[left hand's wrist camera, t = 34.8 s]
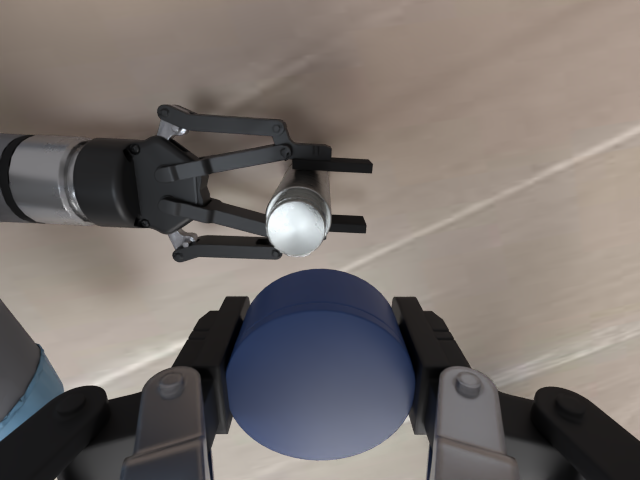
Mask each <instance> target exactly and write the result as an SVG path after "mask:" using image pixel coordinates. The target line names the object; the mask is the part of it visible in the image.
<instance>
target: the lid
mask: <svg viewBox="0 0 640 480" xmlns="http://www.w3.org/2000/svg"><path fill="white" fill-rule="evenodd" d="M226 383H227V391H228V400H229V408H230V411H231V413H232V415H233V417H234V419H235V420H236V422H237V423H238V424H239V426H240V427H241V428H242V429H243V430H244V431H245V432H246V433H247V434H248V435H249V436H250V437H252V438H253V439H254V440H255V441H257V442H258V443H260V444H261V445H263V446H265V447H267V448H269V449H271V450H273V451H275V452H278V453H280V454H283V455H287V456H290V457H294V458H300V459H306V460H334V459H341V458H346V457H350V456H354V455H357V454H360V453H363V452H365V451H367V450H370V449H372V448H373V447H375V446H377V445H379V444H381V443H382V442H383V441H385V440H386V439H388V438H389V437H390V436H391V435H392V434H393V433H394V432H395V431H397V429H398V428H399V427H400V426H401V425H402V423H403V422H404V420H405V419H406V417H407V416H408V414H409V412H410V410H411V407H412V405H413V400H414V393H415V384H416V378H415V372H414V368H413V364H412V361H411V359H410V356H409V353H408V350H407V348H406V345H405V342H404V339H403V337H402V334H401V331H400V328H399V325H398V323H397V320H396V317H395V315H394V312H393V310H392V308H391V306H390V305H389V303H388V301H387V300H386V299H385V298H384V296H383V295H382V294H381V293H380V292H379V291H378V290H377V289H376V288H375V287H373V286H372V285H370V284H369V283H368V282H366V281H364V280H362V279H360V278H359V277H357V276H354V275H351V274H349V273H346V272H342V271H337V270H330V269H310V270H302V271H299V272H295V273H291V274H289V275H286V276H284V277H281V278H280V279H278V280H276V281H274V282H272V283H271V284H270V285H268V286H267V287H266V288H264V289H263V290H262V291H261V292H260V293H259V294H258V295H257V296H256V298H255V299H254V300H253V302H252V303H251V305H250V307H249V308H248V310H247V313H246V315H245V318H244V321H243V324H242V326H241V329H240V332H239V335H238V337H237V340H236V343H235V346H234V348H233V351H232V354H231V357H230V359H229V362H228V365H227V368H226Z"/></svg>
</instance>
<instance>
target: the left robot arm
mask: <svg viewBox="0 0 640 480" xmlns="http://www.w3.org/2000/svg"><path fill="white" fill-rule="evenodd" d="M249 307H250V301H249V298H248V297H247V296H227V297H226V298H225V300H224V302H223V303H222V305H221V307H220V309H219V311H209V312H208V313H207V314H205V315H204V316H203V317H202V318H200V319H199V320H198V322H197V324H196V326H195V327H194V329H193V331H192V333H191V334H190V336H189V339H188V340H187V341H186V343H185V345H184V346H183V348H182V350H181V352H180V353H179V355H178V357H177V359H176V360H175V362H174V364H173V365H172V367H171V368H168V369H165V370H163V371H161V372H159V373H157V374H156V375H154V376H153V377H152V378H150V379H149V380H148V381H147V383H146V384H145V385H144V387H143V390H142V392H139V393H135V394H132V395H127V396H123V397H119V398H115V399H110V400H108V399H107V395H106V392H105V391H104V389H102V388H101V387H98V386H82V387H77V388H74V389H71V390H69V391H66V392H64V393H62V394H60V395H58V396H57V397H55V398H54V399H52V400H51V401H49V402H48V403H47V404H46V405H44V406H43V407H42V408H41V409H40V410H38V411H37V412H36V413H35V414H33V415H32V416H31V417H30V418H28V419H27V420H26V421H25V422H23V423H22V424H21V425H20V426H19V427H17V428H16V429H15V430H14V431H12V432H11V433H10V434H9V435H7V436H6V437H5V438H4V439H2V440H1V441H0V480H54V479H55V478H56V477H57V479H58V480H214V471H213V459H212V451H211V447H212V444H213V441H214V438H215V435H216V434H228V431H229V428H230V424H231V421H232V417H233V415H232V413H231V411H230V408H229V400H228V391H227V383H226V368H227V365H228V362H229V359H230V357H231V354H232V351H233V348H234V346H235V343H236V340H237V337H238V335H239V332H240V329H241V326H242V324H243V321H244V318H245V315H246V313H247V310H248V308H249ZM392 310H393V312H394V315H395V317H396V320H397V323H398V325H399V328H400V331H401V334H402V337H403V339H404V342H405V345H406V348H407V350H408V353H409V356H410V359H411V361H412V364H413V368H414V372H415V378H416V384H415V393H414V400H413V405H412V407H411V410H410V412H409V417H410V421H411V424H412V428H413V431H414V434H415V435H427V437H428V440H429V443H430V444H429V451H428V459H427V471H426V480H640V441H639V440H638V439H636V438H635V437H634V436H633V435H631V434H630V433H629V432H628V431H626V430H625V429H624V428H623V427H621V426H620V425H619V424H618V423H617V422H615V421H614V420H613V419H612V418H610V417H609V416H608V415H607V414H605V413H604V412H603V411H602V410H600V409H599V408H598V407H597V406H596V405H594V404H593V403H592V402H590V401H589V400H588V399H586V398H584V397H583V396H581V395H579V394H577V393H575V392H572V391H570V390H567V389H563V388H559V387H544V388H541V389H539V390H538V391H537V392H536V394H535V397H534V400H530V399H525V398H521V397H517V396H513V395H509V394H505V393H502V392H499V391H498V390H497V387H496V385H495V384H494V383H493V381H492V380H491V379H490V378H488V377H487V376H486V375H484V374H483V373H481V372H479V371H477V370H475V369H472V368H471V367H470V365H469V363H468V362H467V360H466V358H465V357H464V355H463V353H462V351H461V350H460V348H459V346H458V345H457V343H456V341H455V340H454V338H453V336H452V334H451V333H450V332H449V329H448V328H447V326H446V324H445V322H444V321H443V319H441V318H440V317H439V316H437V315H436V314H435V313H434V312H432V311H423V310H422V308H421V306H420V304H419V302H418V300H417V298H416V297H394V298H393V300H392Z"/></svg>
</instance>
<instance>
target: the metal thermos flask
mask: <svg viewBox="0 0 640 480" xmlns="http://www.w3.org/2000/svg"><path fill="white" fill-rule="evenodd" d="M265 217H266V234H267V236H268V238H269V241H270V242H271V244H272V245H273V246H274V248H276V249H277V250H278V251H280V252H281V253H283V254H286V255H287V256H293V257H304V256H307V255H310V253H311V252H313V251H314V250H316V249H317V248H318V247H319V246H320V245H321V243H322V242H323V240H324V238H325V237H326V235H327V234H328V232H329V230H330V227H331V222H332V214H331V200H330V186H329V175H328V171H316V170H296V169H292V164H291V165H290V167H289V169H288V170H287V172H286V174H285V176H284V177H283V179H282V181H281V183H280V184H279V186H278V188H277V190H276V191H275V193H274V195H273V197H272V198H271V200H270V202H269V204H268V206H267V209H266V216H265Z"/></svg>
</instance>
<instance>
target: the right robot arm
mask: <svg viewBox="0 0 640 480" xmlns="http://www.w3.org/2000/svg"><path fill="white" fill-rule="evenodd" d="M157 114H158V116H159V118H160V119H161V121H160V125H159V129H158V133H157V135H156V136H151V137H149V138H148V139H146V140H131V139H112V138H95V139H90V138H87V137H74V136H52V135H18V134H3V133H0V222H22V223H43V224H45V223H47V224H64V225H81V226H93V225H98V226H104V227H125V228H151V229H154V230H157V231H159V232H160V233H163V234H168V236H169V238H170V240H171V242H172V244H173V246H174V248H175V251H174V252H173V255H172V256H173V259H174V260H175V261H177V262H184V261H187V260H190V259H193V258H197V257H218V258H246V259H274V260H276V259H279V258H281V256H282V253H281V252H280V251H278V250H277V249H276V248H274V246H273V245H272V244H271V242H270V241H269V238H268V236H267V234H266V217H265V216H266V214H262V213H259V212H255V211H251V210H247V209H244V208H240V207H236V206H233V205H229V204H225V203H222V202H221V201H220V200H217V199H213V198H210V194H209V191H208V188H207V182H208V177H209V175H208V174H211V173H216V172H222V171H227V170H232V169H238V168H243V167H249V166H254V165H260V164H265V163H271V162H276V161H281V160H285V161H286V160H288V159H293V160H292V169H296V170H316V171H335V172H355V173H372V167H373V164H372V163H371V162H370V161H369V160H368V159H349V158H331V152H332V148H331V147H330V146H328V145H326V144H309V143H296V142H294V141H292V140H291V138H290V136H289V133H288V130H287V126H286V123H285V122H284V121H283V120H280V119H265V118H250V117H235V116H220V115H205V114H197V113H195V112H192V111H190V110H188V109H186V108H183V107H181V106H179V105H161V106H159V107H158V109H157ZM189 130H191V131H202V132H217V133H232V134H248V135H263V136H272V137H273V140H274V143H275V144H272V145H266V146H261V147H256V148H250V149H245V150H240V151H234V152H229V153H223V154H218V155H211V156H205V157H200V158H198V157H196V156H195V155H194V154H192V153H191V152H190V151H188V150H187V149H186V148H184V147H183V146H182V145H180V144H179V143H178V142H176V141H175V140H174V139H173V138H174V136H175V135H179V136H180V135H185V134H187V133H188V132H189ZM193 220H196V221H199V222H203V223H215V224H219V225H223V226H227V227H231V228H234V229H238V230H242V231H246V232H249V233H253V234H257V235H261V236H265V237H244V236H217V235H206V236H200V237H198V236H197V234H196V233H187V232H185V231H183V230H182V227H184V226H185V225H187V224H188V223H190V222H191V221H193ZM329 232H347V233H366V223H365V220H364V218H363V216H350V215H332V222H331V227H330V230H329ZM325 239H326V237H325V238H324V240H325ZM62 393H64V388H63V384H62V382H61V380H60V379H59V377H58V375H57V374H56V372H55V370H54V368H53V367H52V365H51V363H50V362H49V360H48V358H47V357H46V355H45V353H44V350H43V349H42V347H41V346H40V344H36V343H35V342H34V341H33V340H32V338H31V337H30V336H29V335H28V333H27V332H26V331H25V330H24V328H23V327H22V326H21V324H20V323H19V322H18V321H17V319H16V318H15V317H14V316H13V314H12V313H11V312H10V311H9V309H8V308H7V307H6V305H5V304H4V303H3V302H2V300H1V299H0V441H1V440H2V439H4V438H5V437H6V436H7V435H9V434H10V433H11V432H12V431H14V430H15V429H16V428H17V427H19V426H20V425H21V424H22V423H23V422H25V421H26V420H27V419H28V418H30V417H31V416H32V415H33V414H35V413H36V412H37V411H38V410H40V409H41V408H42V407H43V406H44V405H46V404H47V403H48V402H49V401H51V400H52V399H54V398H55V397H57V396H58V395H60V394H62Z"/></svg>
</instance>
